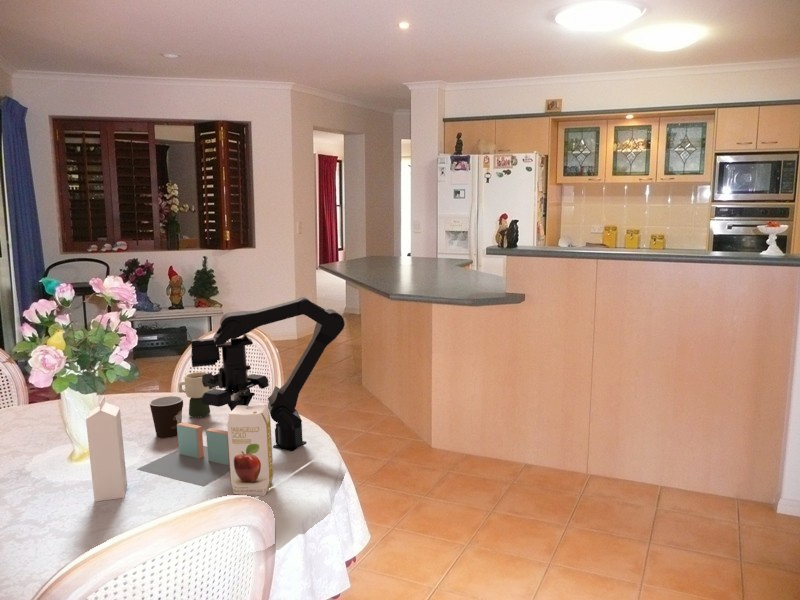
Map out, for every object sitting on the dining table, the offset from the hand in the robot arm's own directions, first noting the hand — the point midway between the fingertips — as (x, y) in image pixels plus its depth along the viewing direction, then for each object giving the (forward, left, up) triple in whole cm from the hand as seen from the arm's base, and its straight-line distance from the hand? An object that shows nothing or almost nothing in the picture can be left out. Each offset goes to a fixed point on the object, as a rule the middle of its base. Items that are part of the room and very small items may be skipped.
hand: (238, 421), depth 159 cm
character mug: (+31, -17, -9) cm, 36 cm away
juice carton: (-17, +15, -9) cm, 24 cm away
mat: (+5, +10, -8) cm, 14 cm away
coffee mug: (+27, -3, -9) cm, 29 cm away
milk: (+11, +30, -9) cm, 33 cm away
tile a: (0, +7, -8) cm, 11 cm away
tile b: (+10, +7, -8) cm, 15 cm away
